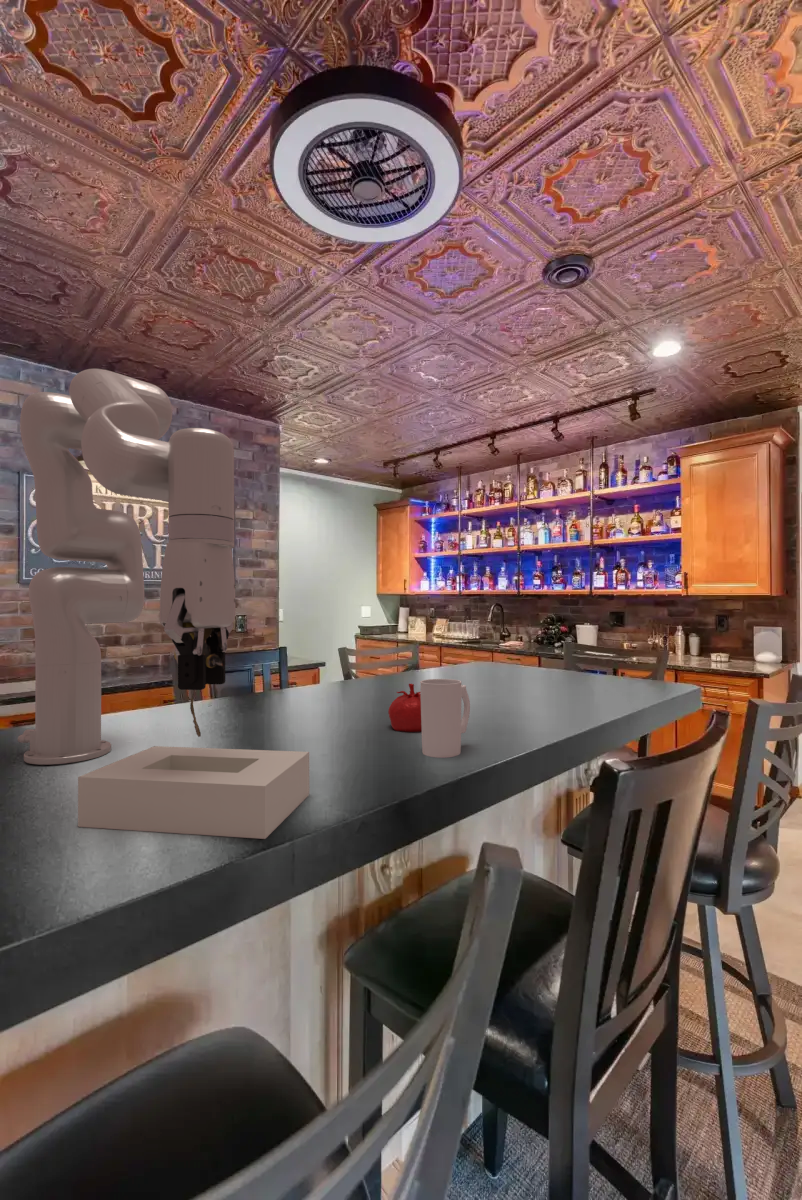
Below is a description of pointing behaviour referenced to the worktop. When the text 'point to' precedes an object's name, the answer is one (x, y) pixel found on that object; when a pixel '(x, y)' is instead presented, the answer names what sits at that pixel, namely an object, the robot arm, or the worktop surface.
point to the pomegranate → (406, 712)
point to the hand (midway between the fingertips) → (202, 685)
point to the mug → (443, 716)
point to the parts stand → (195, 791)
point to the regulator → (210, 662)
